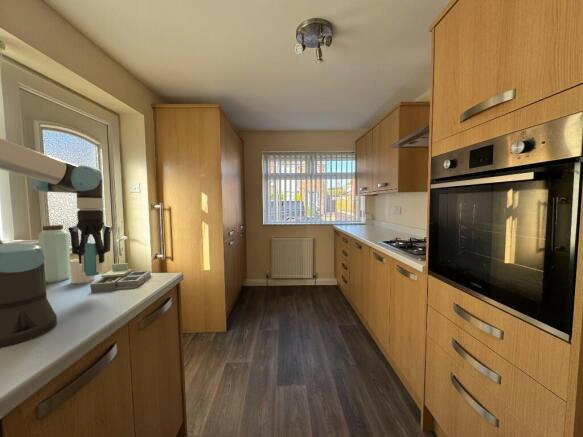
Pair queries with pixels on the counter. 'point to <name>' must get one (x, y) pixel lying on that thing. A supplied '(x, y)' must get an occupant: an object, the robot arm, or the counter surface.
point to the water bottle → (55, 252)
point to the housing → (121, 281)
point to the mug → (78, 273)
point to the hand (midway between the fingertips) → (92, 271)
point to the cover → (118, 270)
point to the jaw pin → (90, 259)
